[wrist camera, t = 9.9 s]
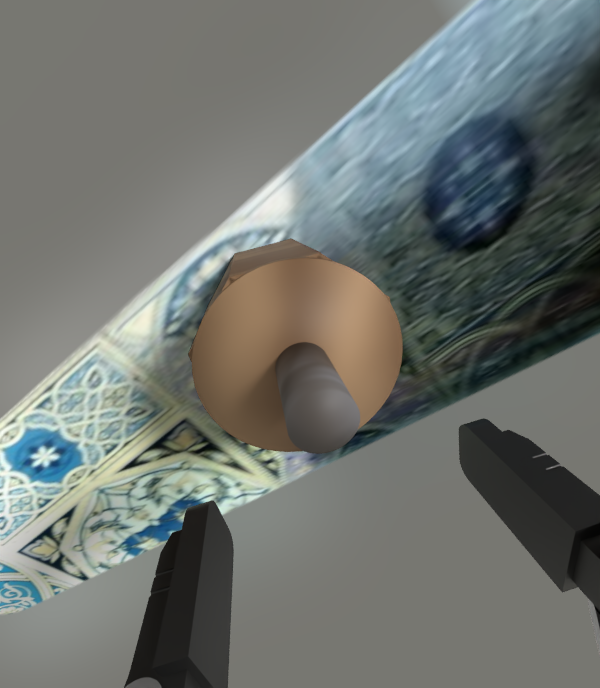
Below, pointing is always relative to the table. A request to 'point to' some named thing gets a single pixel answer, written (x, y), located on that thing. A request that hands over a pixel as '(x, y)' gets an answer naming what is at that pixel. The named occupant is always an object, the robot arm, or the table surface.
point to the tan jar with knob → (295, 350)
